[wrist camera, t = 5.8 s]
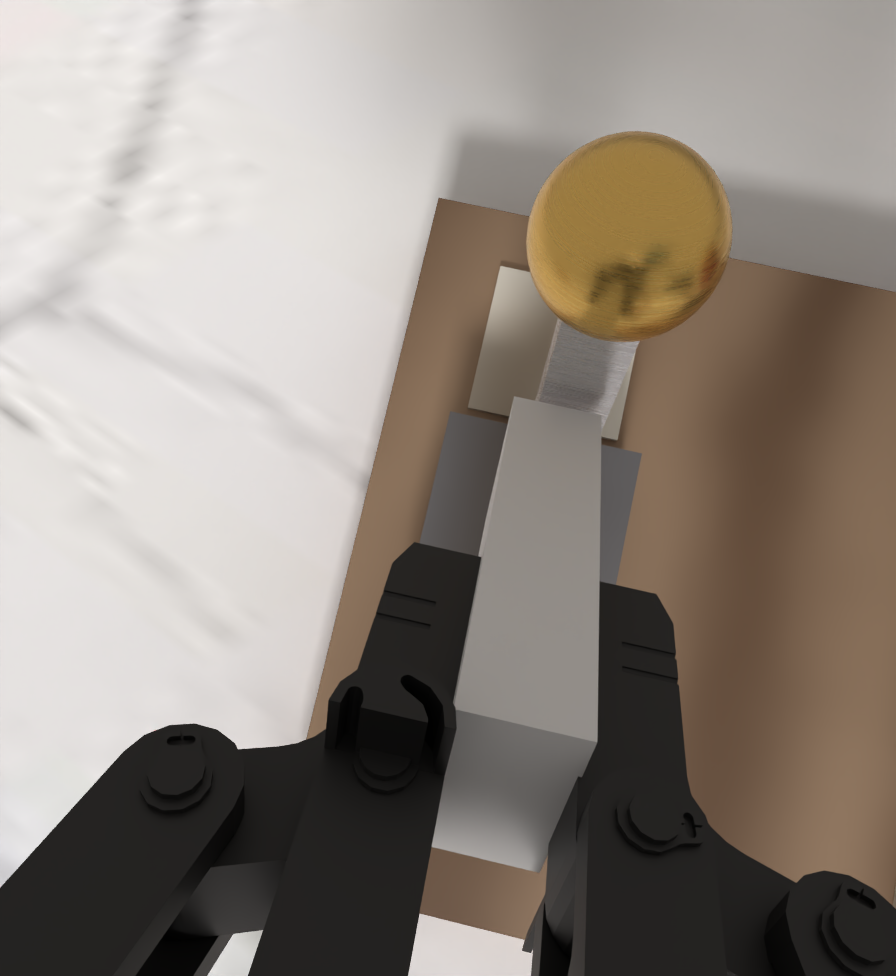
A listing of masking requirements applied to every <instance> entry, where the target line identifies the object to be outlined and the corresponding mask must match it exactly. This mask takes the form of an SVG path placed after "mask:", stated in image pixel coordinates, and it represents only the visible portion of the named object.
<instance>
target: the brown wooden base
mask: <svg viewBox="0 0 896 976" xmlns="http://www.w3.org/2000/svg"><path fill="white" fill-rule="evenodd" d="M528 221H529V216H524V215H519V214H514V213H509V212H505V211H500V210H495V209H490V208H485V207H480V206H475V205H471V204H466V203H461V202H456V201H451V200H446V199H442V198H439V199H438V203H437V207H436V211H435V215H434V219H433V223H432V228H431V232H430V236H429V240H428V244H427V248H426V252H425V256H424V260H423V264H422V268H421V273H420V277H419V281H418V285H417V289H416V293H415V297H414V301H413V305H412V309H411V313H410V318H409V322H408V326H407V330H406V334H405V338H404V342H403V346H402V350H401V354H400V358H399V362H398V367H397V371H396V375H395V379H394V383H393V387H392V391H391V395H390V399H389V403H388V407H387V412H386V416H385V420H384V424H383V428H382V432H381V436H380V440H379V444H378V448H377V452H376V457H375V461H374V465H373V469H372V473H371V477H370V481H369V485H368V489H367V493H366V497H365V502H364V506H363V510H362V514H361V518H360V522H359V526H358V530H357V534H356V538H355V542H354V546H353V551H352V555H351V559H350V563H349V567H348V571H347V575H346V579H345V583H344V587H343V591H342V596H341V600H340V604H339V608H338V612H337V616H336V620H335V624H334V628H333V632H332V636H331V641H330V645H329V649H328V653H327V657H326V661H325V665H324V669H323V673H322V677H321V681H320V685H319V690H318V694H317V698H316V702H315V706H314V710H313V714H312V718H311V722H310V726H309V730H308V735H307V739H309V738H312V737H314V736H316V735H317V734H319V733H320V732H322V731H323V730H325V729H326V722H327V711H328V700H329V698H330V697H331V695H332V693H333V692H334V690H335V689H336V687H337V685H338V684H339V682H340V681H341V680H343V679H344V678H346V677H347V676H349V675H350V674H352V673H353V672H354V671H356V670H357V669H358V666H359V663H360V660H361V657H362V653H363V650H364V647H365V644H366V641H367V638H368V635H369V632H370V629H371V626H372V623H373V620H374V618H375V615H376V611H377V608H378V605H379V602H380V599H381V596H382V594H383V590H384V587H385V584H386V581H387V578H388V575H389V572H390V569H391V566H392V563H393V562H394V561H395V560H396V559H397V558H398V557H399V556H400V555H401V554H402V553H403V552H404V551H405V550H406V549H407V548H409V547H410V546H411V545H412V544H413V543H414V542H416V543H421V544H425V545H430V546H434V547H439V548H443V549H448V550H452V551H457V552H461V553H466V554H470V555H475V556H478V555H479V550H480V545H481V540H482V535H483V530H484V525H485V520H486V516H487V511H488V507H489V503H490V499H491V494H492V490H493V486H494V481H495V477H496V473H497V468H498V464H499V460H500V455H501V451H502V447H503V442H504V438H505V434H506V429H507V425H508V421H509V416H510V412H511V408H512V403H513V399H514V396H515V397H520V398H525V399H529V400H534V401H535V399H536V396H537V392H538V389H539V385H540V381H541V378H542V374H543V371H544V367H545V363H546V360H547V356H548V352H549V349H550V345H551V342H552V338H553V334H554V331H555V327H556V324H557V320H558V317H557V316H556V315H555V314H554V313H553V312H552V311H551V310H550V309H549V307H548V306H547V305H546V303H545V302H544V301H543V300H542V298H541V296H540V295H539V293H538V291H537V289H536V287H535V284H534V282H533V280H532V277H531V274H530V269H529V265H528V260H527V249H526V236H527V228H528ZM600 581H601V582H605V583H610V584H614V585H619V586H623V587H628V588H632V589H637V590H641V591H646V592H650V593H655V594H657V596H658V597H659V599H660V601H661V603H662V604H663V606H664V608H665V610H666V611H667V613H668V615H669V617H670V618H671V620H672V622H673V625H674V636H675V647H676V655H675V659H676V660H677V669H678V682H677V685H679V691H680V702H681V713H682V724H683V735H684V746H685V757H686V768H687V778H688V782H689V787H690V791H691V795H692V797H693V798H694V800H695V801H696V802H697V804H698V805H699V807H700V808H701V809H702V811H703V812H704V814H705V815H706V818H707V821H708V823H709V825H710V826H711V827H712V828H713V829H714V830H715V831H716V832H717V833H718V834H719V835H720V836H721V837H722V838H723V839H724V840H725V841H726V842H728V843H729V844H731V845H732V846H734V847H735V848H737V849H738V850H739V851H741V852H742V853H744V854H745V855H747V856H749V857H751V858H753V859H754V860H756V861H758V862H760V863H762V864H763V865H765V866H767V867H769V868H771V869H772V870H774V871H776V872H778V873H780V874H781V875H783V876H785V877H787V878H789V879H790V880H792V881H794V882H796V883H797V882H798V881H799V880H800V879H801V878H802V877H803V876H804V875H807V874H811V873H815V872H819V871H824V870H825V871H830V872H835V873H840V874H845V875H850V876H851V877H853V878H855V879H857V880H859V881H861V882H862V883H864V884H866V885H868V886H870V887H872V888H873V889H875V890H876V891H877V892H878V893H879V894H880V895H881V896H883V897H884V898H885V899H886V900H887V901H888V902H889V903H890V904H891V905H892V906H893V907H895V908H896V292H892V291H887V290H882V289H877V288H873V287H868V286H863V285H858V284H853V283H848V282H844V281H839V280H834V279H829V278H824V277H819V276H814V275H810V274H805V273H800V272H795V271H790V270H785V269H781V268H776V267H771V266H766V265H761V264H756V263H752V262H747V261H742V260H737V259H732V258H729V259H728V262H727V265H726V268H725V270H724V273H723V275H722V278H721V280H720V281H719V283H718V285H717V286H716V288H715V290H714V291H713V293H712V295H711V296H710V297H709V299H708V300H707V301H706V302H705V303H704V304H703V305H702V307H701V308H700V309H699V310H698V311H697V312H696V313H695V314H693V315H692V316H691V317H690V318H689V319H687V320H686V321H685V322H684V323H682V324H681V325H679V326H677V327H676V328H674V329H672V330H670V331H668V332H666V333H664V334H661V335H659V336H656V337H652V338H649V339H645V340H641V341H639V344H638V346H637V348H636V351H635V353H634V356H633V358H632V360H631V363H630V365H629V367H628V370H627V372H626V375H625V377H624V379H623V382H622V384H621V386H620V389H619V391H618V394H617V396H616V398H615V401H614V403H613V405H612V408H611V410H610V412H609V415H608V417H607V420H606V422H605V424H604V427H603V429H602V431H601V504H600ZM307 739H306V740H307ZM547 859H548V855H547V857H546V860H545V862H544V864H543V866H542V869H541V871H540V873H538V872H534V871H530V870H526V869H522V868H517V867H513V866H509V865H505V864H501V863H496V862H492V861H488V860H484V859H480V858H476V857H472V856H468V855H464V854H460V853H455V852H451V851H447V850H443V849H439V848H434V847H432V848H431V853H430V858H429V864H428V869H427V875H426V880H425V886H424V891H423V896H422V902H421V907H420V914H424V915H428V916H432V917H436V918H440V919H444V920H448V921H452V922H456V923H460V924H464V925H468V926H472V927H476V928H480V929H484V930H488V931H492V932H496V933H500V934H504V935H508V936H512V937H516V938H520V939H524V940H525V938H526V935H527V931H528V929H529V927H530V925H531V923H532V921H533V919H534V916H535V914H536V912H537V910H538V908H539V906H540V904H541V901H542V899H543V897H544V895H545V891H546V875H547Z"/></svg>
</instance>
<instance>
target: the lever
mask: <svg viewBox="0 0 896 976" xmlns="http://www.w3.org/2000/svg"><path fill="white" fill-rule="evenodd" d="M731 243H732V217H731V210H730V205H729V202H728V198H727V195H726V192H725V190H724V188H723V185H722V184H721V182H720V180H719V178H718V177H717V175H716V173H715V172H714V170H713V169H712V168H711V166H710V165H709V164H708V163H707V162H706V161H705V160H704V159H703V158H702V157H701V156H700V155H699V154H698V153H697V152H695V151H694V150H693V149H691V148H690V147H688V146H687V145H685V144H683V143H681V142H679V141H677V140H675V139H672V138H670V137H667V136H664V135H660V134H656V133H650V132H641V131H629V132H621V133H616V134H611V135H607V136H604V137H601V138H598V139H596V140H594V141H592V142H590V143H588V144H586V145H584V146H582V147H580V148H579V149H577V150H576V151H574V152H573V153H572V154H570V155H569V156H568V157H567V158H566V159H564V160H563V161H562V162H561V163H560V164H559V165H558V166H557V167H556V168H555V169H554V171H553V172H552V173H551V174H550V175H549V177H548V178H547V180H546V181H545V183H544V184H543V186H542V188H541V189H540V191H539V193H538V195H537V197H536V199H535V202H534V204H533V207H532V210H531V214H530V217H529V221H528V228H527V236H526V249H527V260H528V265H529V269H530V274H531V277H532V280H533V282H534V284H535V287H536V289H537V291H538V293H539V295H540V296H541V298H542V300H543V301H544V302H545V303H546V305H547V306H548V307H549V309H550V310H551V311H552V312H553V313H554V314H555V315H556V316H557V317H558V320H557V324H556V327H555V331H554V334H553V338H552V342H551V345H550V349H549V352H548V356H547V360H546V363H545V367H544V371H543V374H542V378H541V381H540V385H539V389H538V392H537V396H536V399H535V401H539V402H543V403H548V404H553V405H557V406H562V407H566V408H571V409H576V410H580V411H585V412H590V413H594V414H599V415H602V427H601V431H602V429H603V427H604V424H605V422H606V420H607V417H608V415H609V412H610V410H611V408H612V405H613V403H614V401H615V398H616V396H617V394H618V391H619V389H620V386H621V384H622V382H623V379H624V377H625V375H626V372H627V370H628V367H629V365H630V363H631V360H632V358H633V356H634V353H635V351H636V348H637V346H638V344H639V341H641V340H645V339H649V338H652V337H656V336H659V335H661V334H664V333H666V332H668V331H670V330H672V329H674V328H676V327H677V326H679V325H681V324H682V323H684V322H685V321H686V320H687V319H689V318H690V317H691V316H692V315H693V314H695V313H696V312H697V311H698V310H699V309H700V308H701V307H702V305H703V304H704V303H705V302H706V301H707V300H708V299H709V297H710V296H711V295H712V293H713V291H714V290H715V288H716V286H717V285H718V283H719V281H720V280H721V278H722V275H723V273H724V270H725V268H726V265H727V262H728V259H729V254H730V250H731Z"/></svg>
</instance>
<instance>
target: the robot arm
mask: <svg viewBox="0 0 896 976" xmlns="http://www.w3.org/2000/svg"><path fill="white" fill-rule="evenodd" d="M601 427H602V415H599V414H594V413H590V412H585V411H580V410H576V409H571V408H566V407H562V406H557V405H553V404H548V403H543V402H539V401H534V400H529V399H525V398H520V397H515V396H514V399H513V403H512V408H511V412H510V416H509V421H508V425H507V429H506V434H505V438H504V442H503V447H502V451H501V455H500V460H499V464H498V468H497V473H496V477H495V481H494V486H493V490H492V494H491V499H490V503H489V507H488V511H487V516H486V520H485V525H484V530H483V535H482V540H481V545H480V550H479V555H478V556H475V555H470V554H466V553H461V552H457V551H452V550H448V549H443V548H439V547H434V546H430V545H425V544H421V543H416V542H414V543H413V544H412V545H411V546H410V547H409V548H407V549H406V550H405V551H404V552H403V553H402V554H401V555H400V556H399V557H398V558H397V559H396V560H395V561H394V562H393V563H392V566H391V569H390V572H389V575H388V578H387V581H386V584H385V587H384V590H383V594H382V596H381V599H380V602H379V605H378V608H377V611H376V615H375V618H374V620H373V623H372V626H371V629H370V632H369V635H368V638H367V641H366V644H365V647H364V650H363V653H362V657H361V660H360V663H359V666H358V669H357V670H356V671H354V672H353V673H352V674H350V675H349V676H347V677H346V678H344V679H343V680H341V681H340V682H339V684H338V685H337V687H336V689H335V690H334V692H333V693H332V695H331V697H330V698H329V700H328V711H327V722H326V729H325V730H323V731H322V732H320V733H319V734H317V735H316V736H314V737H312V738H309V739H307V740H304V741H302V742H299V743H296V744H290V745H285V746H279V747H266V748H252V749H239V750H238V749H237V747H236V745H235V743H234V742H232V741H231V740H230V739H228V738H227V737H226V736H225V735H223V734H222V733H221V732H219V731H218V730H216V729H212V728H209V727H205V726H201V725H198V724H182V725H169V726H166V727H164V728H161V729H159V730H156V731H153V732H151V733H148V734H146V735H144V736H143V737H141V738H140V739H139V740H138V741H136V742H135V743H134V744H133V745H131V746H130V747H129V748H128V749H126V750H125V751H124V752H123V753H122V754H121V755H120V756H119V757H118V758H117V760H116V761H115V762H114V763H113V764H112V765H111V766H110V767H109V768H108V770H107V771H106V772H105V773H104V774H103V775H102V776H101V777H100V778H99V779H98V781H97V782H96V783H95V784H94V785H93V786H92V787H91V788H90V789H89V790H88V792H87V793H86V794H85V795H84V796H83V797H82V798H81V799H80V800H79V802H78V803H77V804H76V805H75V806H74V807H73V808H72V809H71V810H70V811H69V813H68V814H67V815H66V816H65V817H64V818H63V819H62V820H61V821H60V823H59V824H58V825H57V826H56V827H55V828H54V829H53V830H52V831H51V832H50V834H49V835H48V836H47V837H46V838H45V839H44V840H43V841H42V842H41V844H40V845H39V846H38V847H37V848H36V849H35V850H34V851H33V852H32V853H31V855H30V856H29V857H28V858H27V859H26V860H25V861H24V862H23V863H22V864H21V866H20V867H19V868H18V869H17V870H16V871H15V872H14V873H13V874H12V876H11V877H10V878H9V879H8V880H7V881H6V882H5V883H4V884H3V885H2V887H1V888H0V976H207V975H208V973H209V972H210V970H211V969H212V967H213V965H214V964H215V962H216V961H217V959H218V957H219V956H220V954H221V953H222V951H223V949H224V948H225V946H226V945H227V943H228V941H229V940H230V938H231V937H232V935H233V934H235V933H243V932H251V931H259V930H263V932H262V935H261V938H260V941H259V944H258V947H257V950H256V953H255V956H254V959H253V962H252V965H251V968H250V971H249V974H248V976H408V972H409V967H410V961H411V956H412V951H413V945H414V940H415V934H416V929H417V923H418V918H419V913H420V907H421V902H422V896H423V891H424V886H425V880H426V875H427V869H428V864H429V858H430V853H431V848H432V847H434V848H439V849H443V850H447V851H451V852H455V853H460V854H464V855H468V856H472V857H476V858H480V859H484V860H488V861H492V862H496V863H501V864H505V865H509V866H513V867H517V868H522V869H526V870H530V871H534V872H538V873H540V871H541V869H542V866H543V864H544V862H545V860H546V857H547V855H548V859H547V875H546V891H545V895H544V897H543V899H542V901H541V904H540V906H539V908H538V910H537V912H536V914H535V916H534V919H533V921H532V923H531V925H530V927H529V929H528V931H527V935H526V938H525V942H524V945H523V949H522V951H525V952H529V953H531V952H532V950H533V959H532V972H531V976H896V908H895V907H893V906H892V905H891V904H890V903H889V902H888V901H887V900H886V899H885V898H884V897H883V896H881V895H880V894H879V893H878V892H877V891H876V890H875V889H873V888H872V887H870V886H868V885H866V884H864V883H862V882H861V881H859V880H857V879H855V878H853V877H851V876H850V875H845V874H840V873H835V872H830V871H825V870H824V871H819V872H815V873H811V874H807V875H804V876H803V877H802V878H801V879H800V880H799V881H798V882H797V883H796V882H794V881H792V880H790V879H789V878H787V877H785V876H783V875H781V874H780V873H778V872H776V871H774V870H772V869H771V868H769V867H767V866H765V865H763V864H762V863H760V862H758V861H756V860H754V859H753V858H751V857H749V856H747V855H745V854H744V853H742V852H741V851H739V850H738V849H737V848H735V847H734V846H732V845H731V844H729V843H728V842H726V841H725V840H724V839H723V838H722V837H721V836H720V835H719V834H718V833H717V832H716V831H715V830H714V829H713V828H712V827H711V826H710V825H709V823H708V821H707V818H706V815H705V814H704V812H703V811H702V809H701V808H700V807H699V805H698V804H697V802H696V801H695V800H694V798H693V797H692V795H691V791H690V787H689V782H688V778H687V768H686V757H685V746H684V735H683V724H682V713H681V702H680V691H679V685H677V682H678V669H677V660H676V659H675V655H676V647H675V636H674V625H673V622H672V620H671V618H670V617H669V615H668V613H667V611H666V610H665V608H664V606H663V604H662V603H661V601H660V599H659V597H658V596H657V594H655V593H650V592H646V591H641V590H637V589H632V588H628V587H623V586H619V585H614V584H610V583H605V582H601V581H600V504H601Z"/></svg>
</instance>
